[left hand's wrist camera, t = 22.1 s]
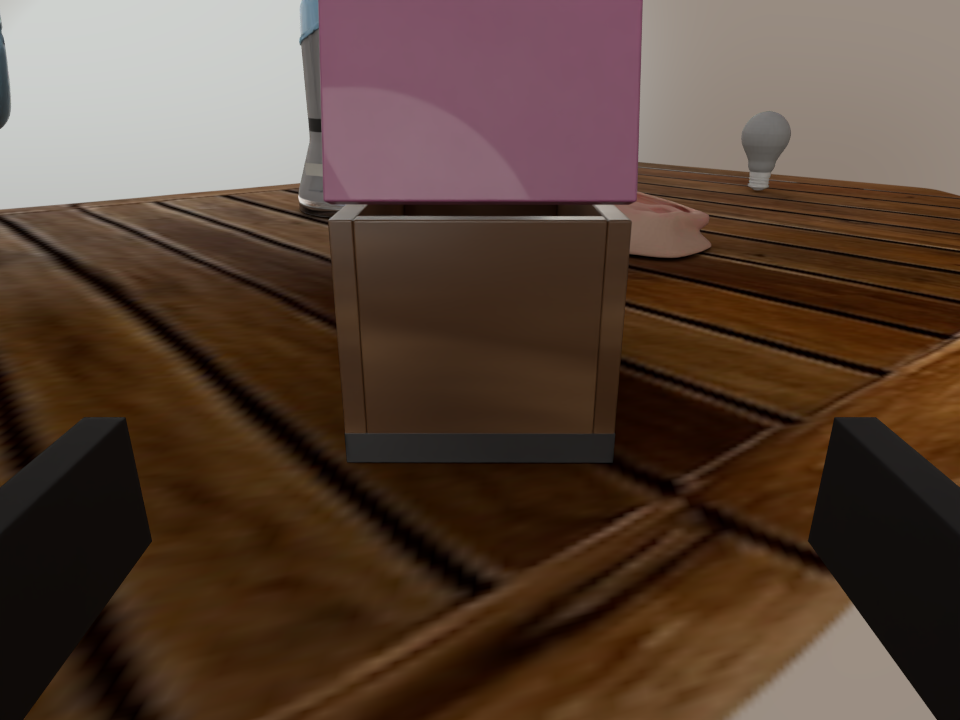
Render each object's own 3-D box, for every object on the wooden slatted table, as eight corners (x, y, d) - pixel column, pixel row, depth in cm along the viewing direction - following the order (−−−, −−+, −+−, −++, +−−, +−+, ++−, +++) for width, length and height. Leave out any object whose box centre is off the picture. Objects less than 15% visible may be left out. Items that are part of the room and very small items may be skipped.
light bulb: (741, 192, 90) (752, 112, 87) (729, 186, 96) (739, 110, 92) (788, 193, 90) (801, 112, 86) (773, 187, 95) (784, 110, 92)
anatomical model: (713, 211, 53) (568, 203, 57) (707, 262, 55) (566, 251, 58) (719, 189, 65) (598, 184, 68) (714, 231, 66) (596, 224, 70)
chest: (396, 324, 41) (388, 166, 37) (564, 324, 41) (572, 167, 37) (346, 462, 26) (327, 219, 22) (612, 462, 26) (632, 220, 22)
